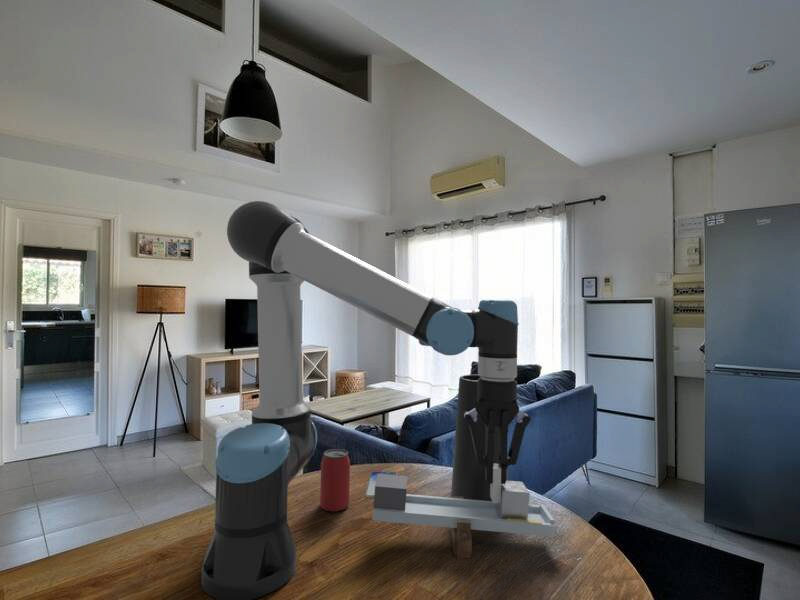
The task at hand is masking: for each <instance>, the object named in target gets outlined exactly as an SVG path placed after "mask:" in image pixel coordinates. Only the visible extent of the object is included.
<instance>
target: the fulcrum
mask: <svg viewBox="0 0 800 600" xmlns="http://www.w3.org/2000/svg"><path fill="white" fill-rule="evenodd" d="M452 498H459V499H464V497H462V496H452ZM449 534H450V538H451V544H452V549H453V550H452V551H453V555H455V556H456V559H471V556H472V555H473V554H472V553H473V549H472V548H473V532H472V529H471V522H470V520H457V528H450V527H449Z"/></svg>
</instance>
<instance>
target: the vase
mask: <svg viewBox="0 0 800 600" xmlns="http://www.w3.org/2000/svg"><path fill="white" fill-rule="evenodd" d="M479 378H481V377H480V376H479V375H478V374H466V375H465V374H464V375H461V376H460V377H459V379H458V391H457V393H458V394H457V406H456V421H455V432H454V433H455V434H454V435H455V436H454V449H453V459H452V460H453V461H452V462H453V463H452V477H451V490H450V495H451V496H450V498H452V496H462V497H464V499H470V500H482V501H492V499H491V497H490V484H489V483H487V481H486V478H485V467H486V466H485V465H484V464H479V462H478V460H477V458H476V454H475V450H474V445H473V441H472V436H471V432H470V427H469V424H468V422H467V421H466V419H465V417H464V412H469V411H471V410H472V409H474V408H475V404H476V402H477V398H478V380H479ZM475 423H476V426H477V430H478V434H479V439H480V443H481V448H482V452H483V456H485V439H486V428H485V423H484V422H483V420H482V419H481V417H480V416H479V414H477V421H476V422H475ZM498 435H499V429H498V426H496V427H495V432H494V463H496V464H499V462H498ZM506 480H507V481H509V468H507V469H506Z"/></svg>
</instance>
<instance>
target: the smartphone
mask: <svg viewBox="0 0 800 600" xmlns="http://www.w3.org/2000/svg"><path fill="white" fill-rule="evenodd" d="M377 474H387V475H398V473H397V472H396V471H371V472H370V474H369V478H368V483H367V486H366V490H365V494H364V497H365V498H367V499H374V494H375V484H376V479H377Z"/></svg>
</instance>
